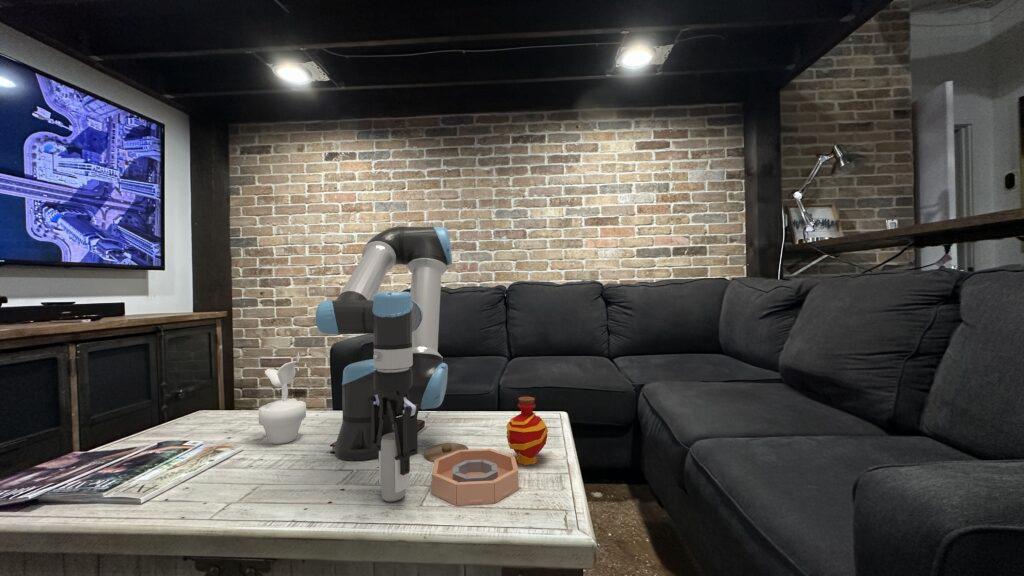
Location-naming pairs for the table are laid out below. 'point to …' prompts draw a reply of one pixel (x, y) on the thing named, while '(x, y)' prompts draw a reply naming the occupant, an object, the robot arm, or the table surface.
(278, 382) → the potted plant
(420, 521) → the table surface
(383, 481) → the beverage can
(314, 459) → the table surface
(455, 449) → the walnut lid
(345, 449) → the robot arm
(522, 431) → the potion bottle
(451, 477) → the dish
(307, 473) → the table surface
